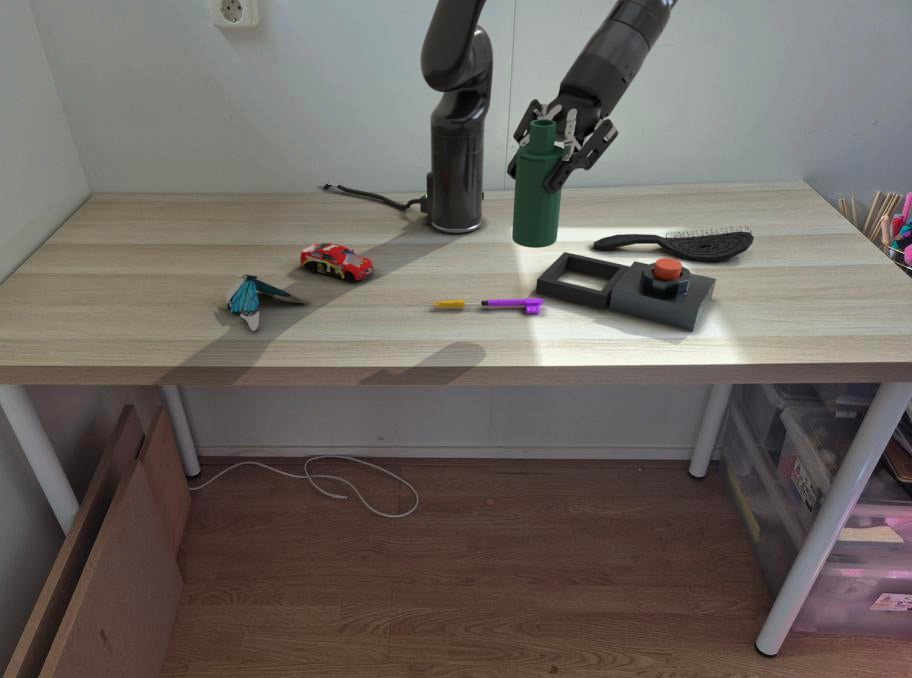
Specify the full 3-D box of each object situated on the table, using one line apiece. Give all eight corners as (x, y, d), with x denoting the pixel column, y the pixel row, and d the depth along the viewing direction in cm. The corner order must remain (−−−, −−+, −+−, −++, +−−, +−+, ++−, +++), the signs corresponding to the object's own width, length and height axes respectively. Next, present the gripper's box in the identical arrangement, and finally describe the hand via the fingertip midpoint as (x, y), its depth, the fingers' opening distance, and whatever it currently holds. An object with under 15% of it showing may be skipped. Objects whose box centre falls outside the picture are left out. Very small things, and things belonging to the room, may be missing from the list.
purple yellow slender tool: (542, 302, 105) (434, 304, 106) (542, 296, 104) (434, 298, 105) (543, 314, 103) (434, 316, 104) (544, 309, 102) (434, 311, 103)
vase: (504, 242, 96) (510, 126, 87) (523, 226, 100) (530, 113, 91) (545, 251, 93) (556, 132, 84) (563, 234, 97) (575, 119, 88)
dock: (535, 293, 108) (536, 279, 107) (562, 265, 115) (564, 251, 114) (603, 311, 103) (606, 295, 102) (627, 280, 110) (630, 266, 109)
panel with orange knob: (608, 310, 103) (613, 277, 100) (630, 282, 110) (636, 250, 106) (692, 332, 98) (701, 297, 94) (710, 301, 104) (719, 267, 101)
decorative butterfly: (256, 261, 112) (295, 263, 105) (268, 299, 114) (307, 303, 108) (204, 286, 106) (242, 289, 99) (218, 325, 108) (256, 331, 102)
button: (650, 277, 100) (652, 265, 99) (657, 266, 103) (659, 256, 102) (675, 282, 99) (678, 271, 98) (682, 272, 101) (685, 261, 100)
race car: (380, 273, 116) (379, 250, 113) (361, 286, 112) (359, 264, 110) (317, 255, 122) (314, 234, 119) (297, 268, 118) (294, 246, 116)
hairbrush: (593, 222, 122) (748, 219, 117) (591, 242, 124) (743, 240, 119) (596, 243, 115) (760, 241, 111) (594, 263, 117) (755, 262, 113)
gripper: (550, 42, 91) (477, 154, 93) (639, 59, 82) (556, 183, 83) (574, 79, 97) (505, 183, 99) (660, 99, 87) (582, 214, 89)
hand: (529, 183), depth 91 cm, fingers closed on vase, 6 cm apart
